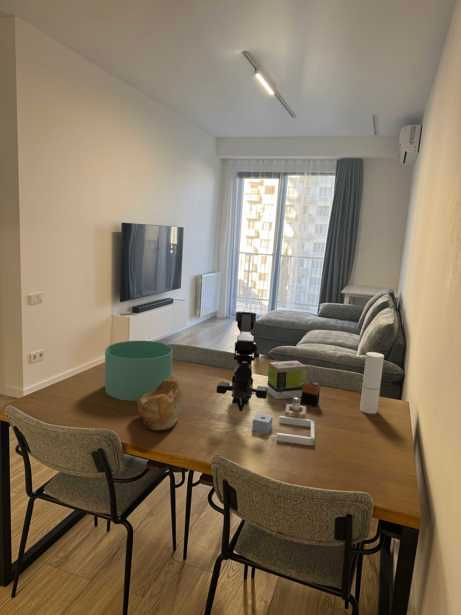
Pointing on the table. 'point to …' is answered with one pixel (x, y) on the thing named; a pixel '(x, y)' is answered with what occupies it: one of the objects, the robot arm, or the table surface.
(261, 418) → the block
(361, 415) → the table surface
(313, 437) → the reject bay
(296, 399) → the cylinder
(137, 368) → the container
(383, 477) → the table surface
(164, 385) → the rough brown rock
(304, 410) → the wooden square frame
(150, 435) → the table surface
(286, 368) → the tea box
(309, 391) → the battery
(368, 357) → the cylindrical container
